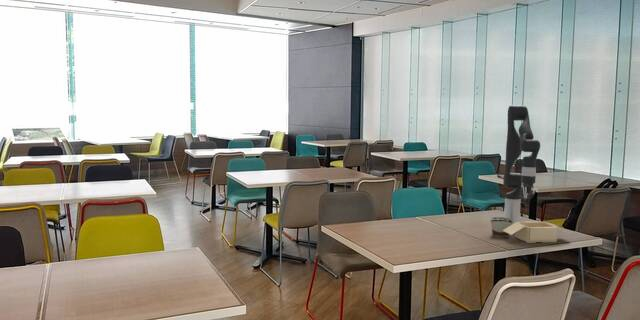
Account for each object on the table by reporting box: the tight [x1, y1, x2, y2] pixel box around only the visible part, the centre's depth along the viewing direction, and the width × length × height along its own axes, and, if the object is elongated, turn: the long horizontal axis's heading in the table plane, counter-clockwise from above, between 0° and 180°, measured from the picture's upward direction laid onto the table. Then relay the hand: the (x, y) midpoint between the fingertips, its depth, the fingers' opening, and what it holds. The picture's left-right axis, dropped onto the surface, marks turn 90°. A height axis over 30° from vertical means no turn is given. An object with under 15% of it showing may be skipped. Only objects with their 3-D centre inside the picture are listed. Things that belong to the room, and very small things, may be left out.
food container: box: [490, 216, 512, 237], centre depth 303 cm, size 12×6×10 cm, turn 84°
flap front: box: [503, 222, 525, 236], centre depth 291 cm, size 10×1×9 cm
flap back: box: [547, 221, 571, 235], centre depth 295 cm, size 10×1×9 cm
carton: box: [514, 221, 559, 244], centre depth 293 cm, size 15×17×8 cm
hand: (526, 204), depth 298 cm, fingers closed
